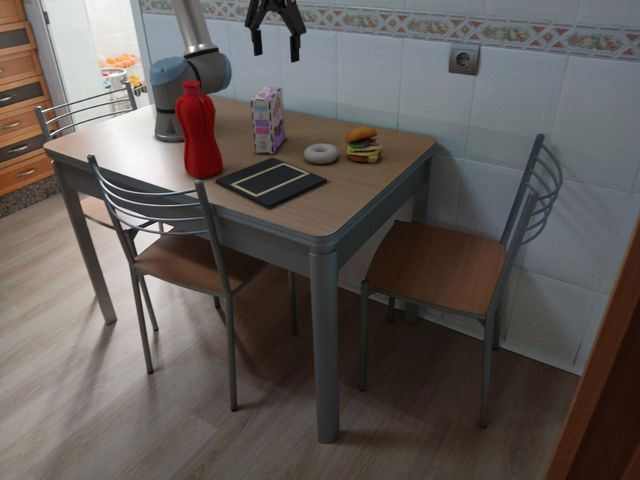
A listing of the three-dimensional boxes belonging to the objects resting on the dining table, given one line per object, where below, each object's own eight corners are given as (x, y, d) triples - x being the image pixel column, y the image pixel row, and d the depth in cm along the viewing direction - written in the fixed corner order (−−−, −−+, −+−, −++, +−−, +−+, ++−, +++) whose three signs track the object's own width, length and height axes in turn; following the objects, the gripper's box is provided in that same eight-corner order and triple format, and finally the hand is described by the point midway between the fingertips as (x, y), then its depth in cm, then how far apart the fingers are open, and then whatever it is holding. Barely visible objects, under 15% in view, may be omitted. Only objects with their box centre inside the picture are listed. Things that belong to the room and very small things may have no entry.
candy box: (273, 155, 154) (269, 99, 145) (254, 153, 155) (249, 99, 146) (285, 138, 165) (282, 86, 157) (267, 137, 166) (263, 85, 158)
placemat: (215, 182, 139) (215, 179, 138) (272, 160, 151) (272, 156, 150) (269, 209, 125) (268, 205, 125) (327, 182, 137) (327, 178, 137)
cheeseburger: (359, 167, 144) (354, 131, 141) (340, 163, 153) (336, 129, 150) (389, 159, 148) (385, 124, 145) (369, 155, 157) (365, 122, 154)
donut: (297, 162, 149) (327, 168, 144) (296, 151, 147) (326, 156, 143) (316, 150, 156) (345, 156, 152) (315, 139, 155) (344, 144, 150)
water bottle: (205, 184, 138) (190, 89, 125) (181, 173, 145) (164, 82, 131) (232, 173, 144) (220, 81, 131) (208, 162, 150) (195, 74, 137)
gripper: (226, -29, 136) (234, 55, 147) (298, -25, 122) (302, 67, 134) (246, -32, 141) (253, 50, 152) (318, -28, 127) (320, 61, 139)
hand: (276, 58), depth 143 cm, fingers open, 13 cm apart
